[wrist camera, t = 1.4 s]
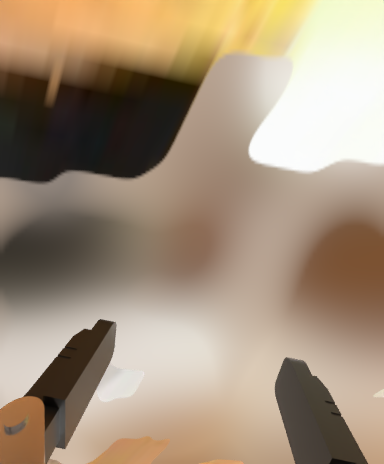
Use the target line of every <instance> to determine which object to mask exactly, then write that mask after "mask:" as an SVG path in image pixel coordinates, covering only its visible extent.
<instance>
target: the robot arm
mask: <svg viewBox="0 0 384 464" xmlns="http://www.w3.org/2000/svg"><path fill="white" fill-rule="evenodd" d="M115 335H116V322H111V321H107V320H101V319H100V320H98V322H97V323H96V324H95V326H94V327H93V328H92V330H88V329H84V330H82V331H81V332H79V333H78V334H76V335H74V336H73V337H72V338H71V340H70V341H69V342H68V343H67V345H66V346H65V348H64V349H63V350H62V351H61V352H60V354H58V357H56V358H55V359H54V360H53V362H52V363H51V364H50V365H49V367H48V368H47V369H46V370H45V372H44V373H43V374H42V375H41V376H40V378H39V379H38V380H37V381H36V383H35V384H34V385H33V386H32V387H31V389H30V390H29V391H28V392H27V393H26V395H24V397H22V398H19V399H16V400H14V401H12V402H10V403H8V404H7V405H6V406H4V407H3V408H1V409H0V464H47V462H48V460H49V458H50V456H51V455H52V452H53V451H54V449H55V447H58V448H62V449H65V448H66V446H67V444H68V442H69V441H70V439H71V437H72V435H73V433H74V431H75V429H76V427H77V425H78V423H79V421H80V419H81V417H82V415H83V414H84V412H85V409H86V408H87V406H88V404H89V402H90V400H91V398H92V396H93V394H94V392H95V390H96V388H97V386H98V384H99V382H100V381H101V379H102V377H103V375H104V373H105V371H106V369H107V367H108V365H109V363H110V361H111V358H112V355H113V352H114V346H115ZM275 395H276V399H277V403H278V406H279V410H280V413H281V416H282V420H283V423H284V426H285V429H286V433H287V437H288V440H289V443H290V447H291V450H292V454H293V457H294V460H295V464H368V463H367V461H366V459H365V457H364V456H363V454H362V452H361V450H360V448H359V446H358V444H357V443H356V441H355V439H354V437H353V435H352V433H351V432H350V430H349V428H348V426H347V424H346V422H345V420H344V419H343V417H341V413H340V412H339V409H338V408H337V406H336V405H335V402H334V400H333V399H332V397H331V395H330V393H329V391H328V389H327V388H326V387H325V386H324V385H323V383H322V382H321V381H320V380H319V379H318V378H317V376H312V374H311V372H310V370H309V368H308V366H307V364H306V363H305V362H304V361H302V360H297V359H292V358H285V359H284V361H283V364H282V366H281V369H280V372H279V374H278V377H277V380H276V383H275Z"/></svg>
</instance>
